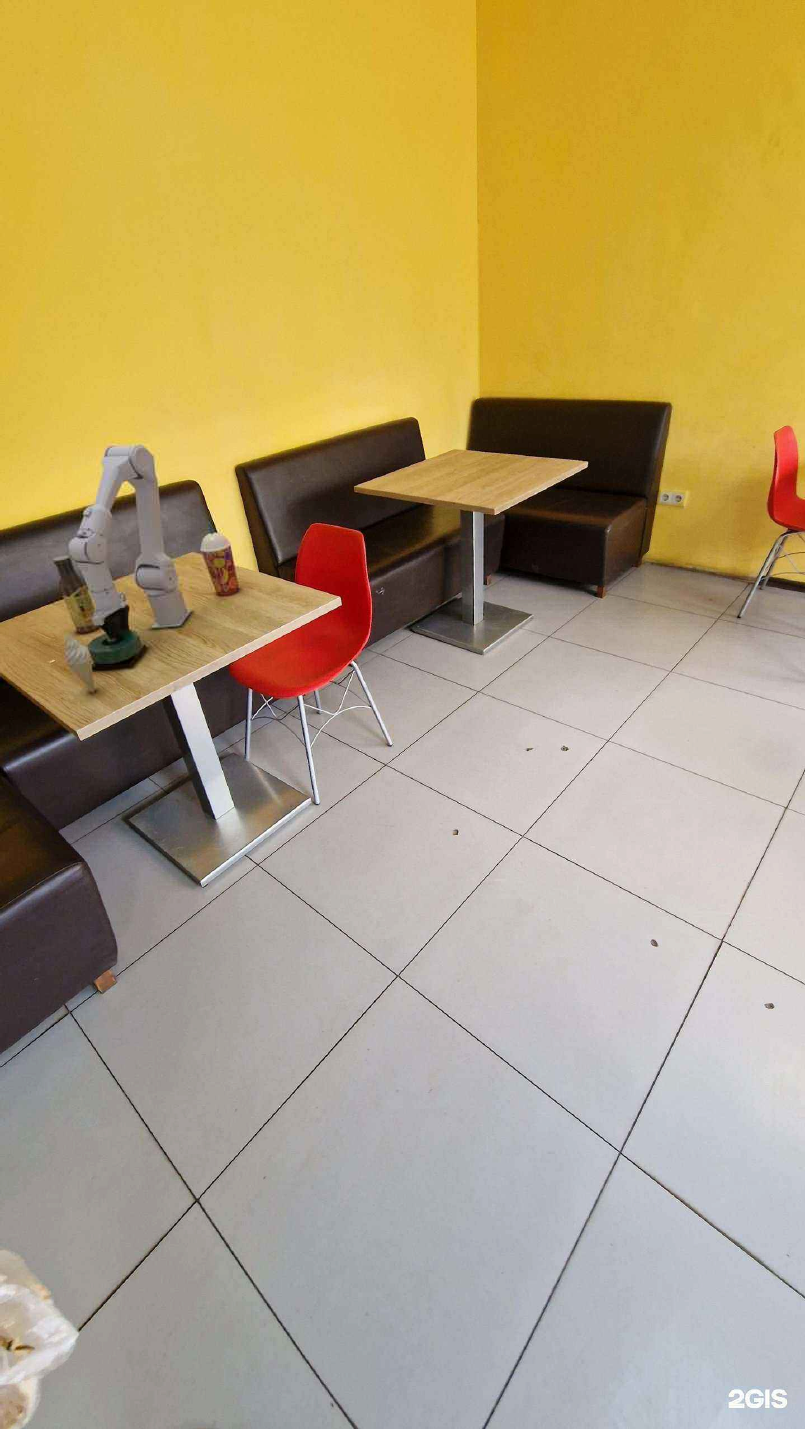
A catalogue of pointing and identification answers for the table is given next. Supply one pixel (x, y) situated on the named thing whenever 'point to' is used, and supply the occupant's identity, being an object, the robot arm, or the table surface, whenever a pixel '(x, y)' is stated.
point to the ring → (114, 648)
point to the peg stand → (122, 664)
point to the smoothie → (219, 562)
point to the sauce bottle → (75, 595)
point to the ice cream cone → (79, 661)
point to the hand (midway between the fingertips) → (122, 639)
